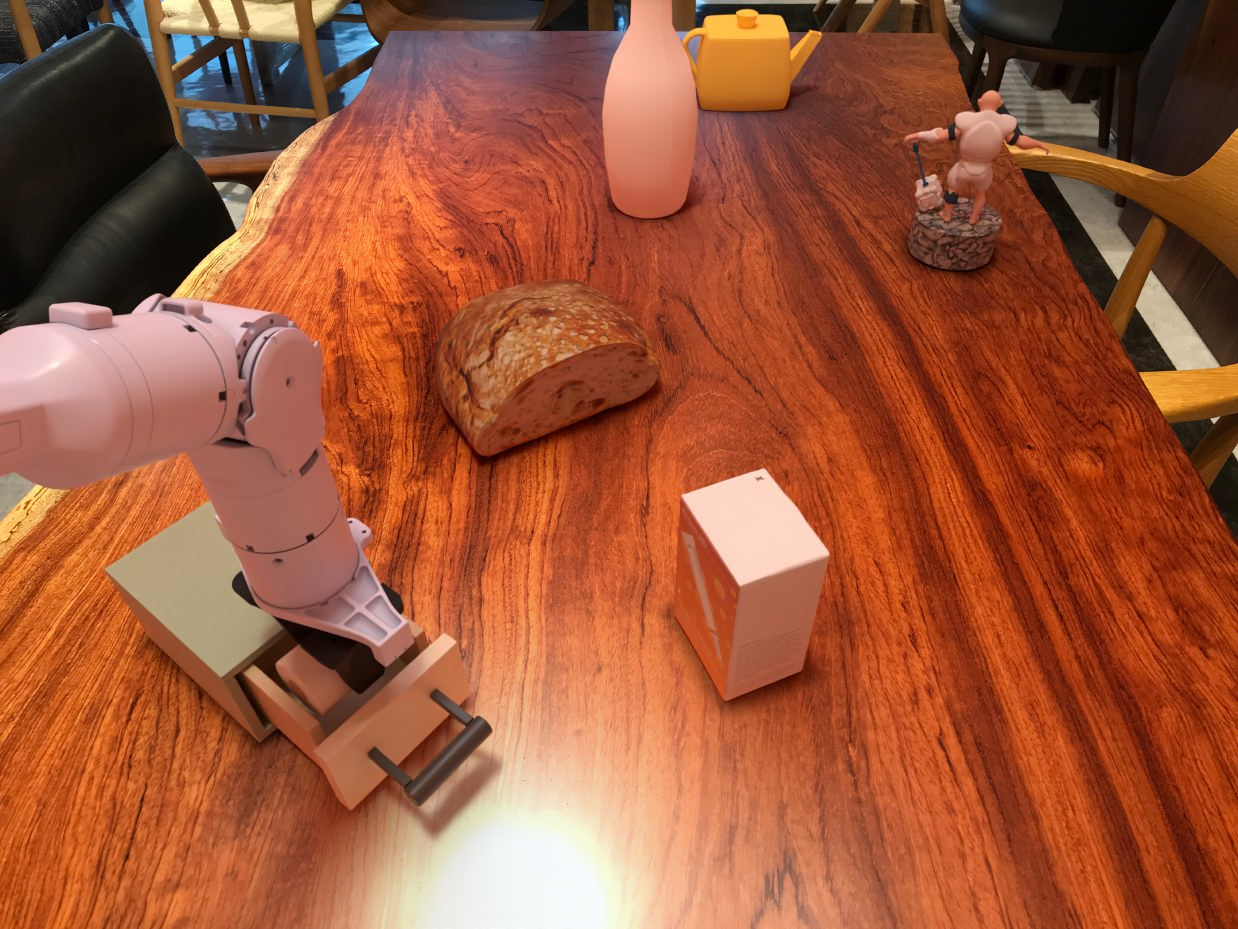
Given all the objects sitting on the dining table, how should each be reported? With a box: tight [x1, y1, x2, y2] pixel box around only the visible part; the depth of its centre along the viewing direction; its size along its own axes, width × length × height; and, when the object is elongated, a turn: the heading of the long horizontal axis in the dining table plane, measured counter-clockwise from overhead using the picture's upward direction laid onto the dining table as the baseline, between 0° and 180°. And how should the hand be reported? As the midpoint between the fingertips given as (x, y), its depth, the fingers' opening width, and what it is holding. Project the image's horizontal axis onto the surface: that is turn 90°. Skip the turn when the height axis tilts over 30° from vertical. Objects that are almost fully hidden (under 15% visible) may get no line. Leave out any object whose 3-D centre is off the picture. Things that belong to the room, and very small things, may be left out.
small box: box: [673, 467, 831, 702], centre depth 58 cm, size 8×6×13 cm
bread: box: [433, 278, 662, 457], centre depth 81 cm, size 20×18×10 cm
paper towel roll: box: [276, 645, 352, 716], centre depth 54 cm, size 4×7×4 cm
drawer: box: [234, 613, 494, 812], centre depth 56 cm, size 17×10×6 cm, turn 52°
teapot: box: [681, 8, 823, 112], centre depth 128 cm, size 20×12×12 cm, turn 89°
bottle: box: [601, 0, 699, 219], centre depth 100 cm, size 11×11×25 cm
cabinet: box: [103, 499, 373, 743], centre depth 61 cm, size 13×11×8 cm
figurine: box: [903, 90, 1050, 271], centre depth 94 cm, size 15×9×18 cm, turn 78°
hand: (344, 660), depth 55 cm, fingers closed on paper towel roll, 4 cm apart
